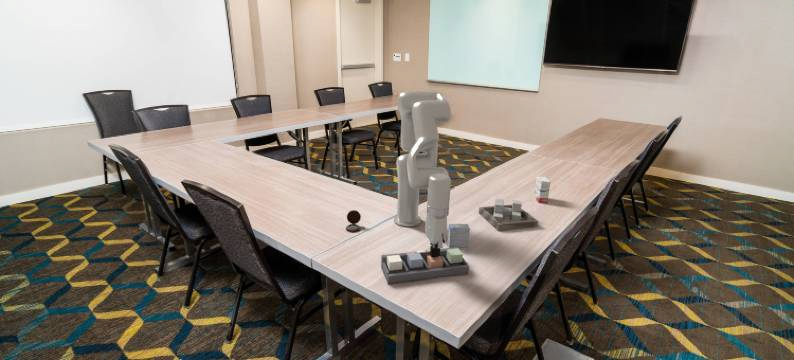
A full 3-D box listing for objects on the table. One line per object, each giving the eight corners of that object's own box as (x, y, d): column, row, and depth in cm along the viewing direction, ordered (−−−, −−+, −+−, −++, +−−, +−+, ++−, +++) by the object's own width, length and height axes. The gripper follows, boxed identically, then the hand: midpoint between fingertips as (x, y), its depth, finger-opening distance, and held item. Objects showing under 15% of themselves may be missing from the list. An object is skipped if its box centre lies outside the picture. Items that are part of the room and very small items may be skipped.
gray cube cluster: (493, 223, 183) (494, 207, 180) (493, 213, 194) (495, 198, 191) (520, 227, 180) (522, 211, 178) (519, 216, 191) (521, 201, 189)
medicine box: (466, 242, 165) (468, 223, 162) (468, 247, 161) (470, 228, 158) (447, 242, 165) (448, 223, 162) (448, 247, 161) (450, 228, 158)
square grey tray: (478, 213, 194) (479, 207, 193) (515, 209, 198) (515, 204, 197) (497, 231, 176) (498, 224, 175) (537, 227, 181) (538, 220, 180)
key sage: (446, 257, 147) (446, 249, 146) (457, 255, 149) (458, 248, 147) (450, 263, 143) (451, 255, 142) (462, 262, 144) (462, 254, 143)
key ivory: (386, 264, 142) (386, 256, 141) (398, 262, 143) (399, 254, 142) (389, 270, 138) (389, 262, 137) (401, 269, 139) (402, 261, 138)
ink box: (547, 203, 208) (551, 181, 204) (538, 203, 208) (541, 181, 204) (542, 197, 216) (545, 176, 212) (533, 196, 216) (536, 176, 212)
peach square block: (426, 263, 146) (427, 255, 145) (438, 262, 147) (438, 254, 146) (430, 269, 142) (431, 262, 141) (442, 268, 143) (442, 260, 142)
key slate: (407, 261, 144) (407, 253, 143) (418, 260, 145) (419, 252, 144) (410, 268, 140) (410, 260, 139) (422, 266, 141) (422, 258, 140)
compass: (345, 232, 171) (344, 217, 169) (347, 224, 179) (347, 209, 177) (363, 232, 172) (363, 217, 169) (365, 224, 179) (365, 209, 177)
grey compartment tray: (381, 267, 146) (381, 254, 144) (456, 258, 153) (457, 246, 151) (387, 284, 136) (388, 270, 134) (468, 274, 143) (469, 261, 141)
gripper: (420, 201, 143) (418, 246, 150) (434, 220, 130) (431, 268, 136) (440, 200, 145) (437, 244, 152) (456, 218, 132) (452, 266, 138)
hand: (434, 256), depth 144 cm, fingers closed
